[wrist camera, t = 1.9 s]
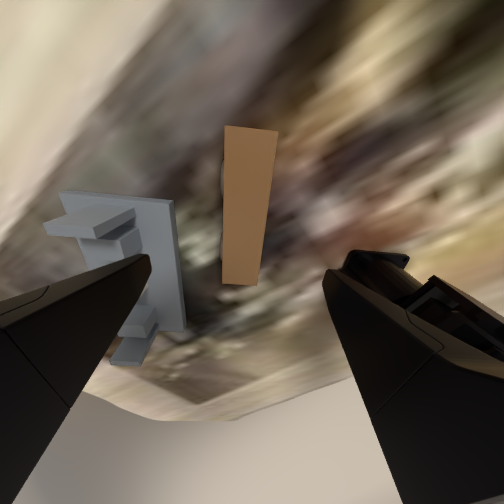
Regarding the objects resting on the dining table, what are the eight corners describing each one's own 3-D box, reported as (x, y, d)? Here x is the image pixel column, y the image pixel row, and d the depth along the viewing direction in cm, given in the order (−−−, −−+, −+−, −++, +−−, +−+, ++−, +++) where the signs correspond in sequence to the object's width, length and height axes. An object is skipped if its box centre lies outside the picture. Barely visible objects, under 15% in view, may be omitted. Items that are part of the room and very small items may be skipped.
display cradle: (173, 200, 17) (139, 223, 11) (186, 324, 25) (170, 370, 20) (70, 190, 16) (-16, 209, 11) (118, 320, 24) (83, 366, 19)
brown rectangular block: (226, 129, 14) (220, 124, 12) (273, 135, 14) (278, 131, 12) (223, 266, 21) (219, 283, 18) (256, 268, 21) (257, 285, 18)
